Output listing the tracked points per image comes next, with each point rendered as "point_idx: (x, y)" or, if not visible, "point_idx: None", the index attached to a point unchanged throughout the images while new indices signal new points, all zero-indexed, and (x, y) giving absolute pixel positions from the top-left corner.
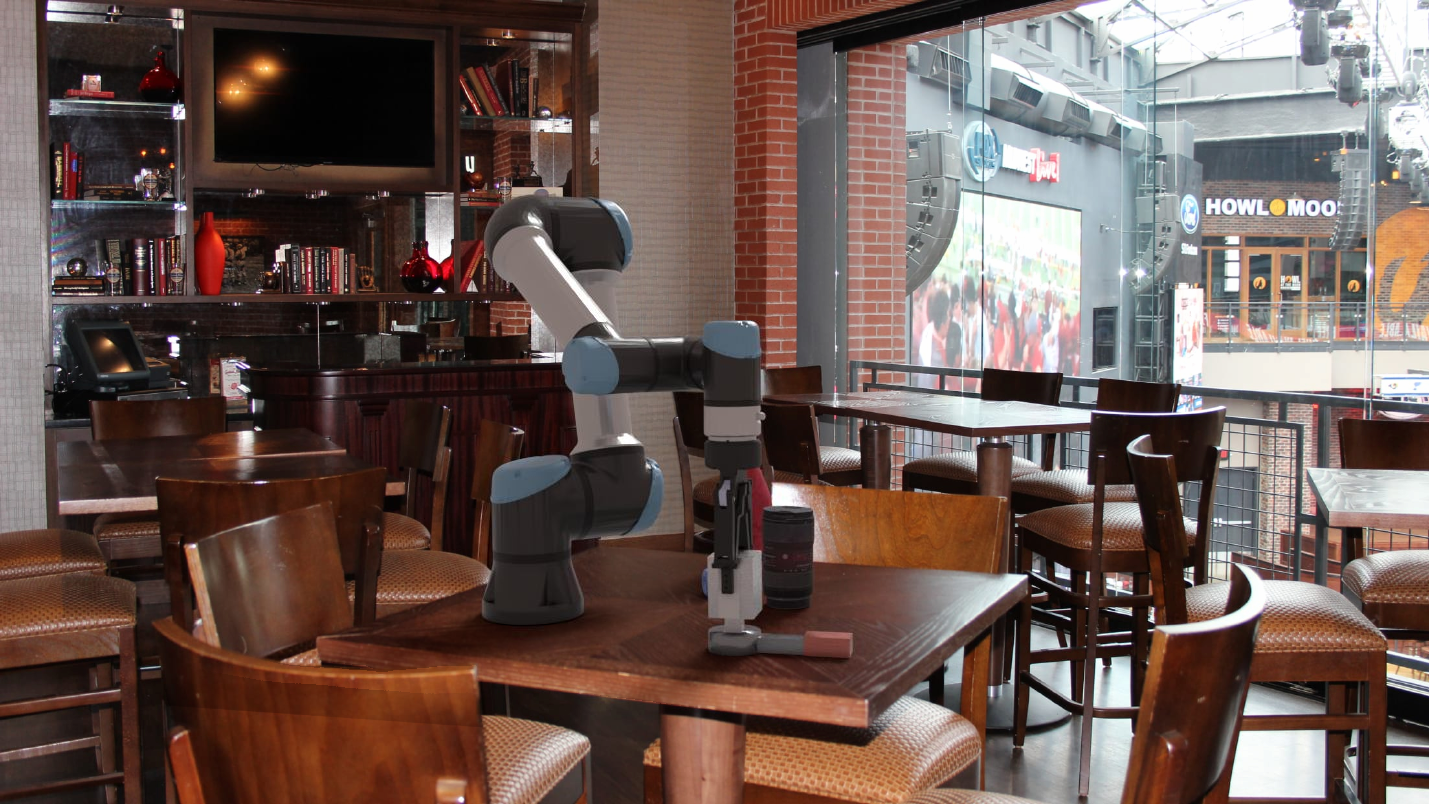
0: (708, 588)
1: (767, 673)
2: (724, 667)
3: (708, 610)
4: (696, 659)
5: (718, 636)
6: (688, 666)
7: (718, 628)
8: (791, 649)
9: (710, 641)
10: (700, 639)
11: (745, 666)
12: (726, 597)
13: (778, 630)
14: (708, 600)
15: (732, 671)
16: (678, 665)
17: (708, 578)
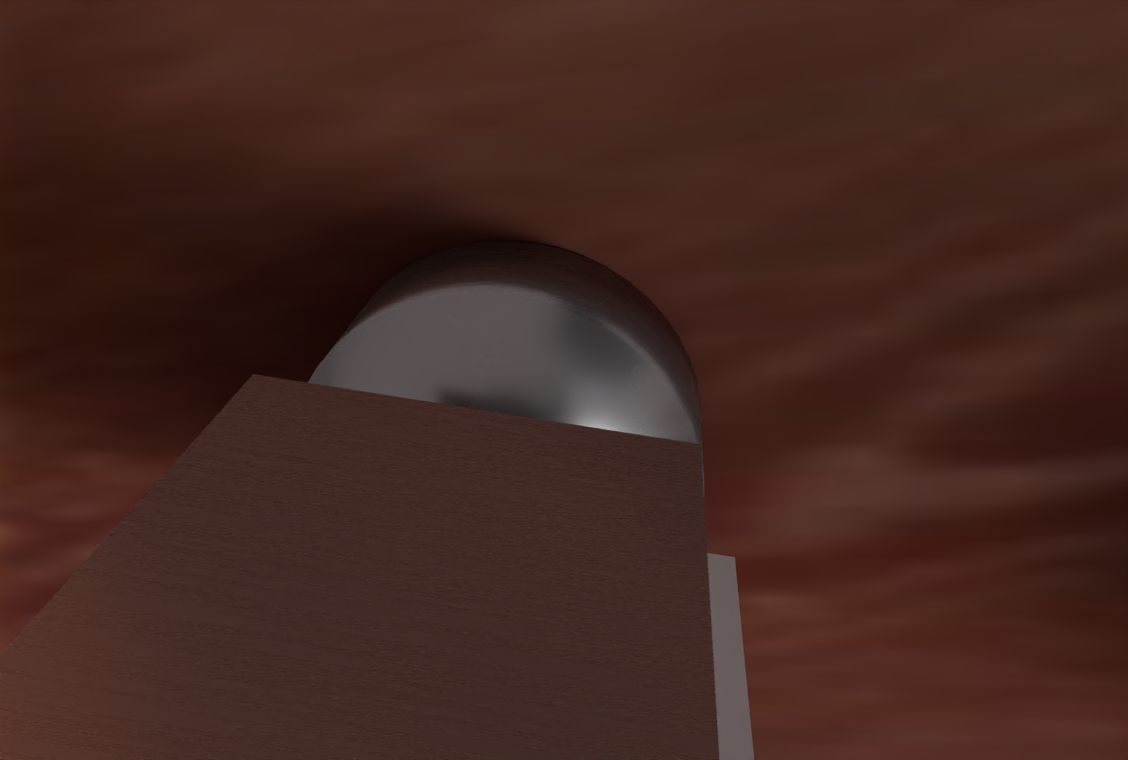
0: (93, 558)
1: (37, 584)
2: (74, 370)
3: (224, 409)
4: (207, 177)
5: (311, 379)
6: (17, 138)
7: (548, 371)
8: None
9: (395, 291)
10: (807, 150)
11: (133, 482)
12: None
13: (1034, 661)
14: (172, 468)
15: (8, 417)
16: (17, 59)
17: (4, 657)
